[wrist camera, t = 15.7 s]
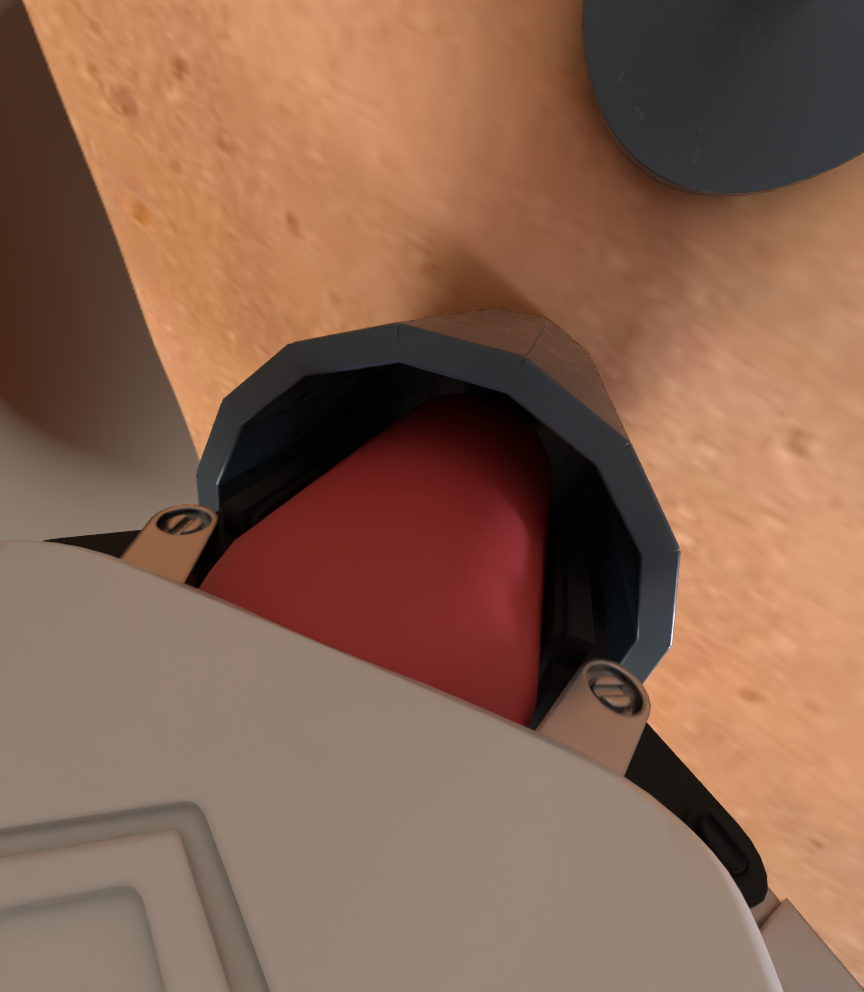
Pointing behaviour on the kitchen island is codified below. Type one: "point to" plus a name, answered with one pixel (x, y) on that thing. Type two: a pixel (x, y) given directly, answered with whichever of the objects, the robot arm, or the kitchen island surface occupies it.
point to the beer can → (416, 554)
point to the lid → (729, 88)
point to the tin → (485, 372)
